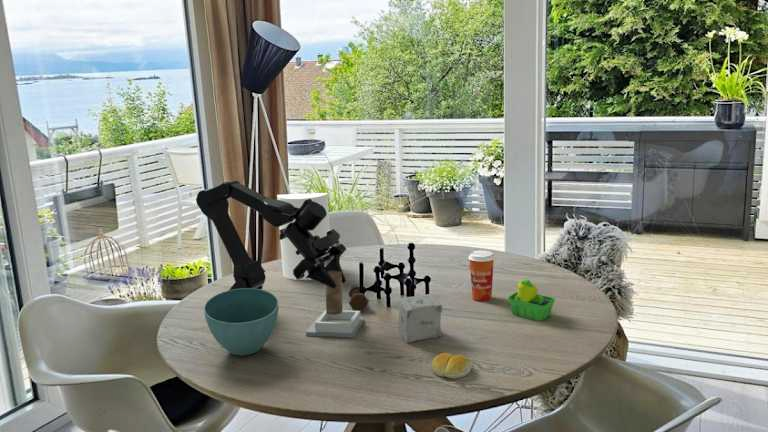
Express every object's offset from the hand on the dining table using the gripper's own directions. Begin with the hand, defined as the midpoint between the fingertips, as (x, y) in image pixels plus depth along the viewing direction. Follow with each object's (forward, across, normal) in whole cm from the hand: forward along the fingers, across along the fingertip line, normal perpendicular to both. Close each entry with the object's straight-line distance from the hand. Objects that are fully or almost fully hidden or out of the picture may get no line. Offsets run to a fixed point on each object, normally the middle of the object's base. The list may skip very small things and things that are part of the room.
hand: (340, 284), depth 183 cm
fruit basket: (+40, +29, -22) cm, 54 cm away
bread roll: (+35, -12, -17) cm, 41 cm away
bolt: (+4, +21, +15) cm, 26 cm away
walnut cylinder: (+4, 0, +7) cm, 8 cm away
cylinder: (-19, +40, +38) cm, 58 cm away
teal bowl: (-3, -22, +20) cm, 30 cm away
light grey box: (+24, +4, -6) cm, 25 cm away
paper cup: (+27, +38, -9) cm, 47 cm away
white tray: (+7, 0, +11) cm, 13 cm away
